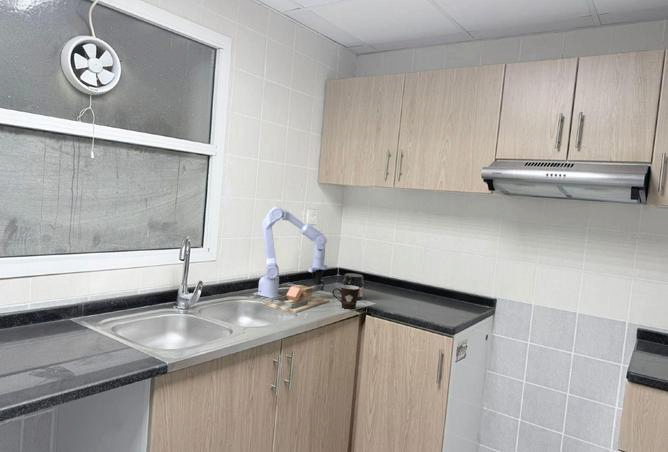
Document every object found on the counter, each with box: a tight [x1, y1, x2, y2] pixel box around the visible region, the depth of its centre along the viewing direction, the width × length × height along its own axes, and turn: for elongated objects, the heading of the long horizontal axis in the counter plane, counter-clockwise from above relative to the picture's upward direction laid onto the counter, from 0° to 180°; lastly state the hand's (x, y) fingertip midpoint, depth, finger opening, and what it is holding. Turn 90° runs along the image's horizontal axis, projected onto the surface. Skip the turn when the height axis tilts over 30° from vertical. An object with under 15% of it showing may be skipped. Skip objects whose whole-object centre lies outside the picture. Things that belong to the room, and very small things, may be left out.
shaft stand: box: [263, 284, 330, 313], centre depth 219 cm, size 17×29×8 cm, turn 150°
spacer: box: [285, 286, 302, 301], centre depth 216 cm, size 5×5×3 cm
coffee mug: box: [332, 284, 359, 310], centre depth 218 cm, size 12×9×10 cm
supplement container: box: [342, 273, 365, 301], centre depth 239 cm, size 10×10×12 cm
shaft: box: [300, 279, 325, 296], centre depth 227 cm, size 5×20×5 cm, turn 150°
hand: (316, 284), depth 233 cm, fingers closed
